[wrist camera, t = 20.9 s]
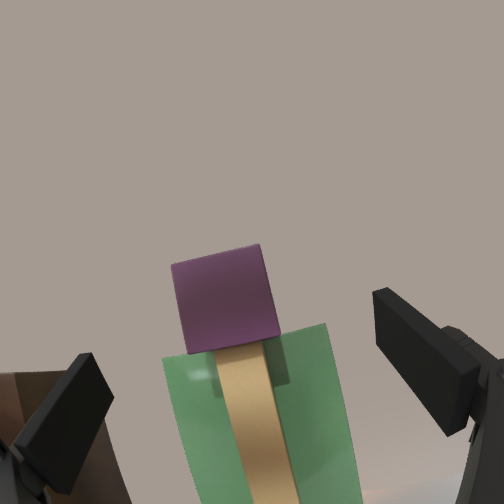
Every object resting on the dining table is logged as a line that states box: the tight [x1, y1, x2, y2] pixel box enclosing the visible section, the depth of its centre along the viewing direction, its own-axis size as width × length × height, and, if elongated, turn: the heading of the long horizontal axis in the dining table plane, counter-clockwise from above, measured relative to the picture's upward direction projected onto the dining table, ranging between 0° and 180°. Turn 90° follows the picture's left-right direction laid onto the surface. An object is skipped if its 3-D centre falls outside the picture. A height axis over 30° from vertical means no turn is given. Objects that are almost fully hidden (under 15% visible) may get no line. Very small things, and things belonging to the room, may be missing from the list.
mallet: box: [171, 244, 301, 504], centre depth 15 cm, size 16×4×4 cm
